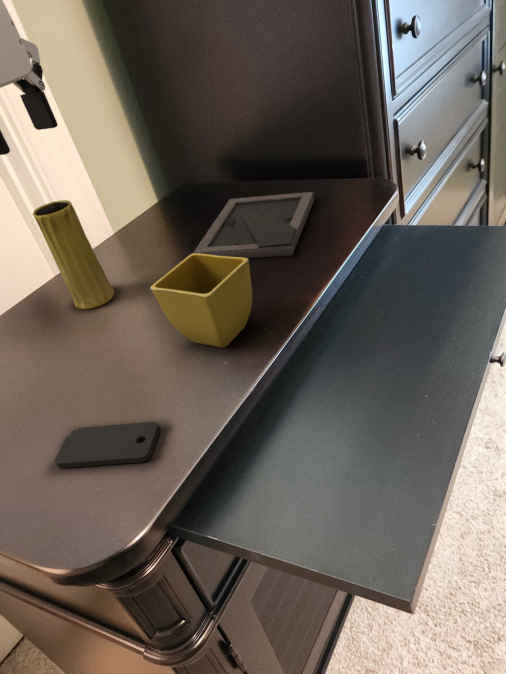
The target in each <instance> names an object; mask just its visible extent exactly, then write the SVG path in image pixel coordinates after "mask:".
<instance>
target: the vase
mask: <svg viewBox="0 0 506 674" xmlns="http://www.w3.org/2000/svg"><path fill="white" fill-rule="evenodd" d="M32 216H33V218H34V220H35V222H36V224H37V226H38V227H39V230H40V231H41V234H42V237H43V238H44V240H45V242H46V244H47V246H48V249H49V251H50V253H51V255H52V257H53V260H54V262H55V264H56V266H57V269H58V271H59V272H60V274H61V277H62V279H63V281H64V283H65V286H66V287H67V290H68V291H69V293H70V295H71V298H72V300H73V305H74V307H76V308H77V309H79V310H91V309H96V308H98V307H101V306H103V305H105V304H107V303H108V302H110V301H111V300H112V299H113V297H114V295H115V290H114V288H113V287H112V285H111V283H110V281H109V279H108V276H107V275H106V273H105V270H103V267H102V265H101V263H100V261H99V260H98V257H97V256H96V253H95V251H94V250H93V247H92V245H91V243H90V240H89V239H88V237H87V234H86V232H85V231H84V227H83V225H82V223H81V221H80V218H79V216H78V213H77V212H76V209H75V208H74V205H73V204H72V202H71V201H70V200H67V199H62V200H61V199H60V200H56V201H51V202H47V203H44V204H43V205H40V206H39V207H37V208H35V209H34V210H33V212H32Z"/></svg>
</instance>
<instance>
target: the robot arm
mask: <svg viewBox="0 0 506 674" xmlns="http://www.w3.org/2000/svg"><path fill="white" fill-rule="evenodd" d="M40 58H41V57H40V52H39V48H38V46H37V45H36V44H35V43H33V42H31V41H29V40H27V39H24V37H21V35H20V33H19V31H18V28H17V26H16V25H15V23H14V20H13V18H12V16H11V14H10V12H9V10H8V8H7V5H6V4H5V2H4V0H0V89H1V88H4V87H5V86H8V85H11V84H13V85H14V86H15V87H16V88H17V89H19V90H20V91H21V92H22V93H23V94H21V95H20V96H19V97H20V98H21V101H22V104H23V105H24V108H25V110H26V112H27V114H28V116H29V119H30V121H31V123H32V126H33V128H34V129H35V130H37V131H39V130H48V129H55V128H57V127H58V122H57V119H56V117H55V115H54V111H53V110H52V107H51V105H50V103H49V100H48V98H47V96H46V94H45V90H46V84H45V82H44V81H43V76H44V75H43V73H44V72H43V67H42V65H41V60H40ZM10 152H11V149H10V146H9V144H8V142H7V141H6V137H5V136H4V134H3V133H2V130H1V129H0V156H4V155H7V154H10Z"/></svg>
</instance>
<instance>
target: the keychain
mask: <svg viewBox="0 0 506 674" xmlns="http://www.w3.org/2000/svg"><path fill="white" fill-rule="evenodd" d="M160 430H161V428H160V426H159V424H158V422H157V421H144V422H135V423H134V422H132V423H122V424H121V423H120V424H110V425H109V424H108V425H98V426H85V427H78V429H77V430H72V431H71V432H70V435H66V437H65V439H64V441H63V442H62V445H61V447H60V449H59V451H58V453H57V454H56V457H55V459H54V463H55V465H56V466H57V467H58V468H59V469H66V468H67V469H68V468H78V467H79V468H81V467H92V466H106V465H121V464H134V463H145V462H147V461H149V460H150V458H151V457H152V453H153V451H154V447H155V446H156V441H157V439H158V437H159V433H160Z"/></svg>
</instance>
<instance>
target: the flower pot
mask: <svg viewBox="0 0 506 674" xmlns="http://www.w3.org/2000/svg"><path fill="white" fill-rule="evenodd" d="M251 277H252V276H251V269H250V260H249V258H242V257H229V256H216V255H209V254H200V253H194V252H193V253H190V254H189V255H187V256H186V257H185V258H184V259H183V260H182V261H180V262H179V263H178V264H177V265H176V266H174V267H173V268H171V270H169V271H168V272H167V273H166V274H164V275H163V276H162V277H161V278H159V279H158V280H156V282H154V283H153V284H152V285H151V286H150V291H151V292H152V294H153V296H154V297H155V299H156V301H157V303H158V304H159V306H160V308H161V310H162V311H163V314H164V315H165V317H166V318H167V319H168V321H169V323H171V325H172V326H173V327H174V328H175V329H176V330H177V332H179V333H180V334H181V335H182V336H184V337H186V338H187V339H188V340H190V341H192V342H193V343H194V344H201V345H206V346H210V347H211V346H212V347H216V348H222V349H223V348H226V347H228V346H229V345H230V343H231V342H232V341H233V340H234V339H235V338H236V337H238V335H239V334H240V333H241V332H242V331H243V330H244V329H245V327H246V325H247V323H248V321H249V318H250V315H251V311H252V305H253V285H252V278H251Z"/></svg>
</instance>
